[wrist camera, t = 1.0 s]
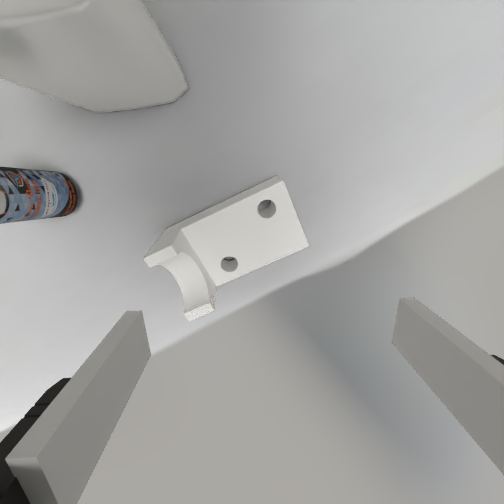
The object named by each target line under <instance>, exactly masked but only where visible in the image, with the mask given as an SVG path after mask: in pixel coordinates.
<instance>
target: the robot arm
mask: <svg viewBox="0 0 504 504" xmlns="http://www.w3.org/2000/svg"><path fill="white" fill-rule="evenodd" d="M392 344H393V345H394V346H395V347H396V348H397V350H398V351H399V352H400V353H401V354H402V355H403V357H404V358H405V359H406V360H407V361H408V363H409V364H410V365H411V366H412V367H413V368H414V370H415V371H416V372H417V373H418V374H419V376H420V377H421V378H422V379H423V380H424V381H425V383H426V384H427V385H428V386H429V387H430V389H431V390H432V391H433V392H434V393H435V394H436V395H437V397H438V398H439V399H440V400H441V401H442V403H443V404H444V405H445V406H446V407H447V409H448V410H449V411H450V412H451V413H452V414H453V416H454V417H455V418H456V419H457V420H458V422H459V423H460V424H461V425H462V426H463V427H464V429H465V430H466V431H467V432H468V433H469V434H470V436H471V437H472V438H473V439H474V440H475V442H476V443H477V444H478V445H479V446H480V447H481V448H482V450H483V451H484V452H485V453H486V454H487V456H488V457H489V458H490V459H491V460H492V461H493V463H494V464H495V465H496V466H497V468H498V469H499V470H500V471H501V472H502V473H503V475H504V360H503V359H501V358H499V357H497V356H495V355H490V354H488V353H487V352H486V351H484V350H483V349H482V348H480V347H479V346H478V345H476V344H475V343H474V342H472V341H471V340H470V339H468V338H467V337H466V336H464V335H463V334H462V333H461V332H459V331H458V330H457V329H455V328H454V327H452V326H451V325H450V324H449V323H447V322H446V321H445V320H443V319H442V318H441V317H439V316H438V315H437V314H435V313H434V312H433V311H431V310H430V309H429V308H428V307H426V306H425V305H424V304H422V303H421V302H419V301H418V300H417V299H415V298H400V299H399V304H398V310H397V315H396V321H395V327H394V333H393V338H392ZM150 356H151V353H150V348H149V343H148V338H147V333H146V328H145V324H144V319H143V314H142V311H126V312H125V314H124V315H123V316H122V317H121V319H120V320H119V321H118V322H117V323H116V325H115V326H114V327H113V328H112V329H111V331H110V332H109V333H108V334H107V336H106V337H105V338H104V339H103V340H102V342H101V343H100V344H99V345H98V346H97V348H96V349H95V350H94V351H93V353H92V354H91V355H90V356H89V357H88V359H87V360H86V361H85V362H84V363H83V365H82V366H81V367H80V368H79V370H78V371H77V372H76V373H75V374H74V376H73V377H72V378H63V379H61V380H60V381H59V382H57V383H56V384H55V385H53V386H52V387H51V388H49V389H48V390H47V391H46V392H45V393H44V394H43V395H42V396H41V398H40V399H39V400H38V401H37V402H36V403H35V406H34V407H32V408H31V409H30V410H29V411H28V412H27V413H26V414H25V417H24V418H23V419H21V420H20V421H19V422H18V424H17V425H16V426H15V427H14V428H13V429H12V430H11V431H10V433H9V434H8V435H7V436H6V437H5V438H4V439H3V440H2V442H1V443H0V504H77V502H78V500H79V499H80V496H81V494H82V492H83V490H84V488H85V486H86V484H87V482H88V480H89V478H90V476H91V474H92V472H93V470H94V468H95V466H96V464H97V462H98V460H99V458H100V456H101V454H102V452H103V450H104V448H105V446H106V444H107V442H108V440H109V438H110V436H111V434H112V432H113V430H114V428H115V426H116V424H117V422H118V420H119V418H120V416H121V414H122V412H123V410H124V408H125V406H126V404H127V402H128V400H129V398H130V396H131V394H132V392H133V390H134V388H135V386H136V384H137V382H138V380H139V378H140V376H141V374H142V372H143V370H144V368H145V366H146V364H147V362H148V360H149V358H150Z"/></svg>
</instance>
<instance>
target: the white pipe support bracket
mask: <svg viewBox="0 0 504 504" xmlns="http://www.w3.org/2000/svg"><path fill="white" fill-rule="evenodd" d="M263 200H271V203H270V205H269V207H267V208H266V209H259V208H258V205H259V204H260V202H262V201H263ZM308 246H309V245H308V242H307V240H306V237H305V234H304V232H303V229H302V227H301V224H300V222H299V219H298V216H297V214H296V211H295V209H294V206H293V204H292V201H291V199H290V196H289V193H288V191H287V188H286V186H285V183H284V181H283V180H282V179H281V178H280V177H278V176H275V177H273V178H270V179H268V180H266V181H264V182H262V183H260V184H258V185H256V186H254V187H252V188H250V189H248V190H245V191H243V192H241V193H239V194H237V195H235V196H233V197H231V198H229V199H227V200H225V201H223V202H220V203H218V204H216V205H214V206H212V207H210V208H208V209H206V210H204V211H202V212H200V213H198V214H196V215H193V216H191V217H189V218H187V219H185V220H183V221H181V222H179V223H177V224H175V225H173V226H171V227H168V228H166V230H165V231H164V232H163V233H162V235H161V236H160V237H159V239H158V240H157V241H156V242H155V244H154V245H153V246H152V248H151V249H150V250H149V252H148V253H147V254H146V255H145V257H144V258H143V259H144V261H145V262H146V263H147V265H148V266H149V268H151V267H153V266H155V265H162V266H163V267H165V268H166V269H167V270H169V271H170V273H171V274H172V275H173V276H174V278H175V279H176V281H177V283H178V285H179V287H180V289H181V292H182V295H183V299H184V315H185V317H186V318H187V320H188V321H191V320H193V319H196V318H198V317H200V316H203V315H205V314H207V313H210V312H212V311H214V308H215V299H216V290H217V286H220V285H222V284H224V283H227V282H229V281H231V280H233V279H236V278H238V277H240V276H242V275H245V274H247V273H249V272H252V271H254V270H256V269H258V268H261V267H263V266H265V265H267V264H270V263H272V262H274V261H277V260H279V259H281V258H283V257H286V256H288V255H290V254H293V253H295V252H297V251H299V250H302V249H304V248H306V247H308ZM227 256H231V257H234V258H235V259H234V260H232V261H227V260H225V259H224V258H225V257H227Z"/></svg>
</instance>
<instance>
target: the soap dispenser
mask: <svg viewBox="0 0 504 504" xmlns="http://www.w3.org/2000/svg"><path fill="white" fill-rule="evenodd" d="M0 79H3V80H6V81H8V82H11V83H14V84H16V85H19V86H22V87H25V88H27V89H30V90H33V91H35V92H38V93H41V94H43V95H46V96H49V97H51V98H54V99H57V100H60V101H62V102H65V103H68V104H71V105H74V106H78V107H81V108H85V109H89V110H92V111H96V112H99V113H106V112H114V111H123V110H132V109H140V108H146V107H151V106H157V105H162V104H167V103H172V102H175V101H176V100H177V99H178V98H179V97H180V96H181V95H183V94H184V93H185V92H186V91H187V90H188V89H189V87H188V84H187V82H186V79H185V77H184V74H183V72H182V69H181V67H180V64H179V62H178V60H177V58H176V56H175V55H174V53H173V51H172V50H171V48H170V47H169V45H168V43H167V42H166V40H165V38H164V37H163V35H162V33H161V32H160V30H159V28H158V27H157V25H156V23H155V22H154V20H153V19H152V17H151V15H150V14H149V12H148V10H147V9H146V7H145V5H144V4H143V2H142V0H0Z"/></svg>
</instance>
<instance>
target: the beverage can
mask: <svg viewBox="0 0 504 504" xmlns="http://www.w3.org/2000/svg"><path fill="white" fill-rule="evenodd" d="M77 199H78V198H77V191H76V189H75V186H74V185H73V183H72V182H71V180H70V179H69V178H68V177H66V176H65V175H63V174H61V173H59V172H53V171H42V170H31V169H20V168H9V167H0V224H1V223H9V222H18V221H27V220H35V219H44V218H53V217H61V216H66V215H69V214H70V213H72V212H73V210H74V209H75V207H76V205H77Z"/></svg>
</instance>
